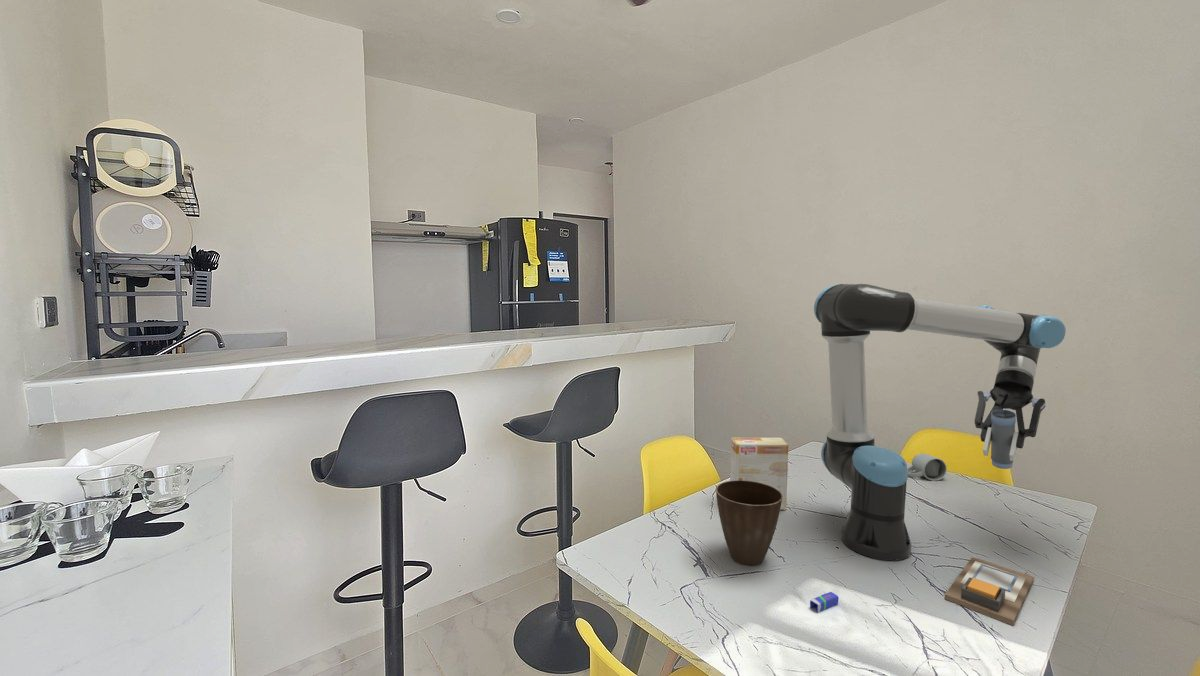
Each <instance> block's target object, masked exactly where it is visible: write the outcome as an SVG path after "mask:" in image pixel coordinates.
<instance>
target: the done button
mask: <svg viewBox="0 0 1200 676" xmlns="http://www.w3.org/2000/svg"><path fill="white" fill-rule="evenodd" d="M967 589H968V590H970V591H973V592H976V593H978V594H981V595H984V596H987V597H989V598H992V599H995V600H997V598H998V596H999V590H1000V587H998V586H996V585H993V584H990V583H987V582H984V581H981V580H978V579H976V578H973V579H972V580H971V582H970V583H969V585H968V587H967Z"/></svg>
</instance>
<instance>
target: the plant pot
mask: <svg viewBox="0 0 1200 676" xmlns="http://www.w3.org/2000/svg"><path fill="white" fill-rule="evenodd" d="M715 494H716V502H717V509H718V515H719V520H720V525H721V529H722V533H723V537H724V540H725V543H726V546H727V549H728V552H729V555H730V557H731V559H733V561H734V562H737V563H739V564H741V565H747V566H756V565H757V566H758V565H760V564H762V563H763V562H764V559H765V557H766V555H767V553H768V551H769V549H770V547H771V543H772V540H773V539H774V538H773V537H774V535H775V532H776V529H777V525H778V521H779V516H780V513H781V510H780V508H781V502H782V494H781V492H780V491H778V490H777V489H775V488H773V487H771V486H769V485H766V484H763V483H758V482H753V481H742V480H736V481H730V480H728V481H724V482H722V483H720V484H717V486H716V488H715Z"/></svg>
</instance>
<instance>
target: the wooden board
mask: <svg viewBox="0 0 1200 676" xmlns="http://www.w3.org/2000/svg"><path fill="white" fill-rule="evenodd" d="M973 578H976V579H978V580H981V581H984V582H987V583H990V584H993V585H996V586H998V587H1000V590H999V596H998V598H997V600H995V599H992V598H989V597H987V596H984V595H981V594H978V593H976V592H973V591H970V590H968V589H967V587H968V585H969V583H970V582H971V580H972V579H973ZM1034 579H1035V577H1034V576H1033V575H1029V574H1027V573H1023V572H1021V571H1018V570H1015V569H1011V568H1010V567H1009V568H1008V567H1005V566H1002V565H999V564H996V563H992V562H990V561H987V560H984V559H981V558H977V557H974V556H971V558H970V559H969V560H968V562H967V564H966V565H965V566H964V567H963V568H962V570H961V571H960V573H959V574H958V576H957V577H956V579H955V580H954V581H953V583H951V585H950V587H949V588H948V589H947V591H946V592H945V594H944V599H945V600H946V601H949V602H952V603H954V604H955V605H959V606H961V605H962V607H965V608H967V609H970V610H972V611H975V612H978V614H979V613H980V614H982V615H985V616H987V617H990V618H993V619H995V620H997V621H1000V622H1003V623H1005V624H1009V625H1010V626H1014V624H1015V623H1016V620H1017V618H1018V616H1019V614H1020V612H1021V610H1020V609H1022V607H1023V604H1024V602H1025V601H1026V598H1027V596H1028V594H1029V591H1030V589H1031V587H1032V585H1033V583H1034Z"/></svg>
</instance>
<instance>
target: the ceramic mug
mask: <svg viewBox="0 0 1200 676" xmlns="http://www.w3.org/2000/svg"><path fill="white" fill-rule="evenodd" d="M947 468H948V467H947V465H946V463H945V461H944V460H943V459H941V458H939V457H935V456H933V455H930V454H928V453H917V454H916V455H914V457H913V458H912V460H911V465H910V466H909V467H907V474H908V478H912V479H913V478H916V479H917V478H920V477H923V478H925V479H927V480H929V481H933V482H937V481H941V480H942V479H943V478H944V477H945V475H947ZM913 471H915V472H913ZM911 472H913V473H911Z"/></svg>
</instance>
